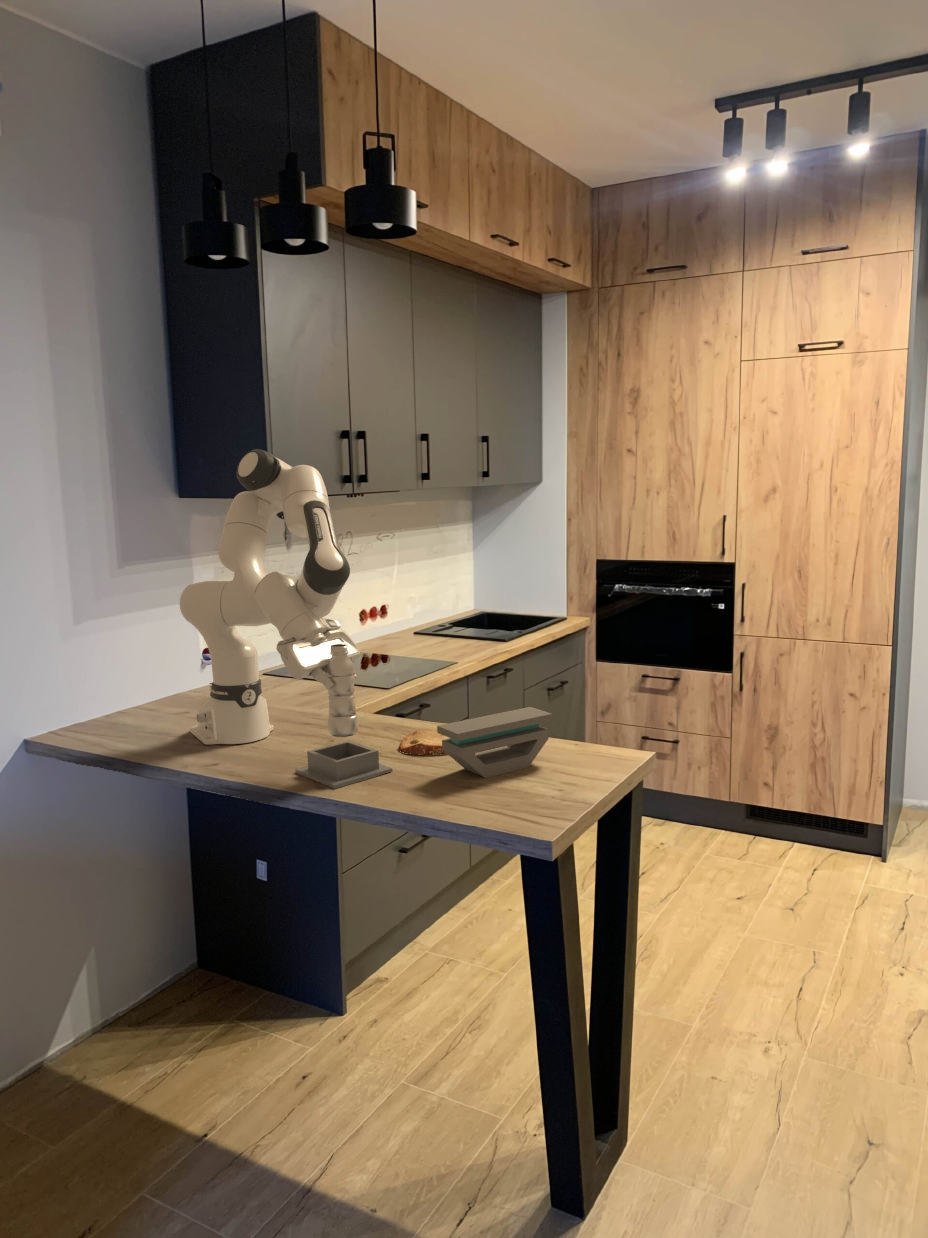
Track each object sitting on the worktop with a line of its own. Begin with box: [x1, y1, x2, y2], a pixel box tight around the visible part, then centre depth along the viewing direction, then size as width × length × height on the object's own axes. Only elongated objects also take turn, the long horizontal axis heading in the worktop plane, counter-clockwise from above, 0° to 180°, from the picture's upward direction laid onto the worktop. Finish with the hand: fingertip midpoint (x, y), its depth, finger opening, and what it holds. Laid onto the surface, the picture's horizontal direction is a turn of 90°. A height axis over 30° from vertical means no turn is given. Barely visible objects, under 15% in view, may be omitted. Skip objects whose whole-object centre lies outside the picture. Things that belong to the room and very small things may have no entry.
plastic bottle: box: [324, 644, 360, 738], centre depth 200 cm, size 6×7×20 cm
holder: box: [295, 740, 393, 790], centre depth 202 cm, size 15×15×5 cm
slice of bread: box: [397, 730, 449, 756], centre depth 220 cm, size 18×18×4 cm
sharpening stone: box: [436, 706, 553, 779], centre depth 202 cm, size 25×8×11 cm, turn 124°
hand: (342, 683), depth 199 cm, fingers closed on plastic bottle, 6 cm apart
